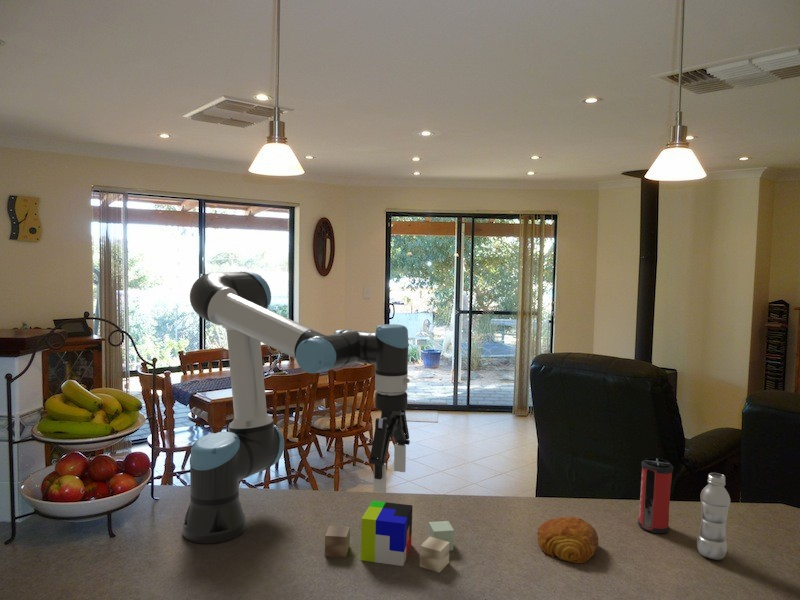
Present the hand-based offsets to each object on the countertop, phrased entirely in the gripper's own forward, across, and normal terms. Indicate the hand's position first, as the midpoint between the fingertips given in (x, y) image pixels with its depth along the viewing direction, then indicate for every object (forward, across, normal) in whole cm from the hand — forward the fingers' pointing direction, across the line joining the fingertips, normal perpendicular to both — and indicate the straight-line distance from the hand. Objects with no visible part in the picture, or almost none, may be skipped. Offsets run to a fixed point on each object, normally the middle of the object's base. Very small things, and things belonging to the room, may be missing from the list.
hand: (390, 481), depth 137 cm
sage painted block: (+18, +8, -10) cm, 22 cm away
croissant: (+18, +19, -39) cm, 47 cm away
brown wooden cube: (+17, -4, +12) cm, 21 cm away
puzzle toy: (+18, 0, +1) cm, 18 cm away
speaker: (+18, +39, -60) cm, 74 cm away
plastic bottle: (+19, +28, -72) cm, 80 cm away
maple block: (+18, -1, -11) cm, 21 cm away
